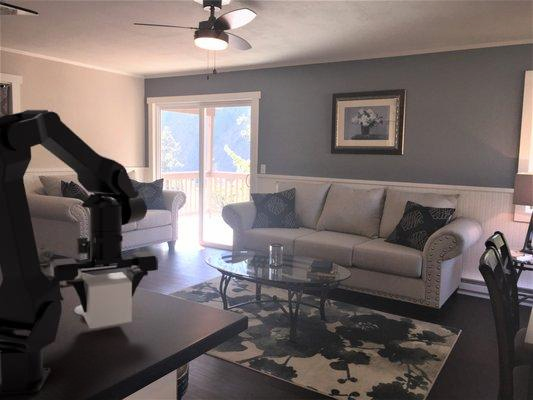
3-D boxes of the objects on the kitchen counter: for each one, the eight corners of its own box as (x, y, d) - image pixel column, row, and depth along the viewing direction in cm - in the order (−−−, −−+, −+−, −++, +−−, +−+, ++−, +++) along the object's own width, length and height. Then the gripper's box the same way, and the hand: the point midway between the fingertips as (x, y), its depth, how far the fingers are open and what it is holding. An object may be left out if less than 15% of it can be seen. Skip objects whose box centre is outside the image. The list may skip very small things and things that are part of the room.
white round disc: (110, 314, 93) (110, 313, 93) (70, 316, 91) (70, 315, 91) (115, 302, 100) (115, 301, 100) (78, 303, 99) (78, 302, 99)
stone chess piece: (46, 297, 102) (45, 247, 101) (24, 295, 103) (23, 245, 102) (63, 289, 108) (62, 242, 107) (42, 287, 109) (41, 240, 108)
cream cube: (131, 321, 83) (131, 282, 82) (89, 328, 79) (89, 287, 78) (122, 309, 90) (122, 272, 89) (83, 315, 86) (82, 276, 85)
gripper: (143, 220, 94) (142, 290, 96) (47, 225, 85) (49, 303, 86) (159, 228, 85) (158, 305, 87) (53, 235, 75) (55, 322, 77)
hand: (106, 308), depth 84 cm, fingers closed on cream cube, 7 cm apart
